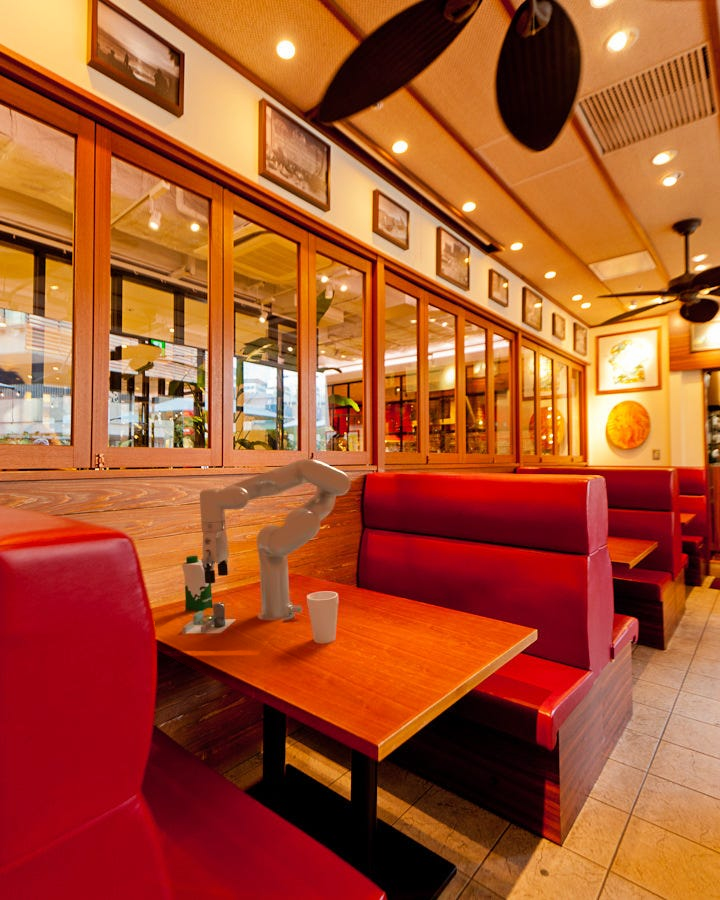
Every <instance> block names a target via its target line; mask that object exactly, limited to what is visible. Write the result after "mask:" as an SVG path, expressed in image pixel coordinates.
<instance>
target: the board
mask: <svg viewBox="0 0 720 900" xmlns="http://www.w3.org/2000/svg"><path fill="white" fill-rule="evenodd" d="M210 615H211V621H208V622H202V621H201V617H203V616H204V610H203V611H197V612H196V613H195V614H193V615H192V619H193V621H191V620H190V622H188V623H186V625H184V626H183V627H182V632H181V633H180V634H184V635H185V634H222V633H223V632H224V631H225V630H226V629H227V628H228V627H229V626H230V625H232V624H233V623H234V622H235V621H236V618H232V619H231V618H228V619H226V618H225V626H224V627H221V628H215V627H214V616H213V613H212V614H210Z"/></svg>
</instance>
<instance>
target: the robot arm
mask: <svg viewBox="0 0 720 900" xmlns="http://www.w3.org/2000/svg"><path fill="white" fill-rule="evenodd" d="M305 484H311V485H313V486H315V487H316V490H315V494H314V495H313V496H312V497H311V498H310V499H309V500H307V501H305V502H304V503H302V504H300V505H299V506H298V507H297V508H295V509H294V510H292V511H290V512H289V513H288V514H287V515H286V516H285V517H284V522H283V524H282V525H281V526H280V525H274V524H268V525H265V526H264V527H262V528H261V529H260V531H259V532H258V533H257V537H256V547H257V552H258V558H259V559H258V562H259V575H260V578H259V579H260V593H261V594H260V595H261V599H260V600H261V612H260V613H258V615H257V618H258V619H259V620H263V621H275V620H283V622H286V621H289V620H292V619H293V618H294V617H295V615H296V614H297V613H301V614H302V612H303V608H302V606H301V605H294V604H293V602H292V600H291V601H290V587H289V586H290V585H289V584H290V583H289V581H290V580H289V564H288V563H289V562H288V556H289V555H290V554H292V553H294V552H295V551H297V550H298V549H299V548H301V547H302V546H304V545H305V544H307V542H309V541H310V540H312V539H313V538H315V536H316V535H317V534H318V533H319V531H320V528H321V521H322V520H324V519H325V518H326V517H327V516H329V514H330V513H331V512H332V511H333V509H334V507H335V502H336V499H337V496H338V497H339V496H340V497H341V496H344V495H345V494H347V493H348V492H349V490H350V489H351V486H352V485H351V480H350V477H349V476H348V475H347V474H346V472H344V471H341V470H339V469H337V468H335V467H332V466H330V465H328V464H327V463H324V462H322V461H320V460H317V459H314V458H305V459H300V460H299V459H298V460H296V461H294V462H291V463H288V464H286V465H282V466H281V467H277V468H274V469H272V470H269V471H267V472H264V473H260V474H258V475H255V476H253V477H250V478H247V479H244V480H241V481H238V482H236V483H233V484H230V485H228V486H226V487H224V488H223V489H221V488H209V489H208V488H207V489H203V490H201V491H199V506H200V521H201V522H200V524H201V533H202V558H201V560H202V564H203V568H204V573H205V583H211V584H216V571H215V569H214V567H215V564H217V575H218V576H222V577H223V576H228V574H229V572H228V571H229V570H228V558H229V556H230V551H229V542H228V535H227V532H226V531H227V529H226V516H225V515H226V514H225V510H241V509H244V508H245V507H246V506H247V505H248V504H249V502H250V501H252V500H254V499H259V498H261V497H262V498H263V497H271V496H277V495H279V494H282V493H284V492H287V491H289V490H291V489H293V488H296V487H300V486H302V485H305ZM210 564H211V566H210Z"/></svg>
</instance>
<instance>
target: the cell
mask: <svg viewBox="0 0 720 900" xmlns="http://www.w3.org/2000/svg"><path fill="white" fill-rule="evenodd" d="M212 604H213V608H212V610H213V612H212V614H213V616H214V627H215V628H221V627H224V626H225V619H226V608H225V606H226V605H225V603H224V602H221V601H219V602H216V603H212Z"/></svg>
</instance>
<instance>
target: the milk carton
mask: <svg viewBox="0 0 720 900" xmlns="http://www.w3.org/2000/svg"><path fill="white" fill-rule="evenodd" d="M210 566H211V564H210ZM181 568H182V571H183V576H184V593H185V596H184V597H185V602H184V603H185V610H184V611H185V612H186V611H189V612H190V611H191V612H199V611H203V612H204V611H205V610H206V609H207V610H208V609H213V604H214V603H213V596H212V583H205V573H204V568H203V564H202V559H199V557H198V555H188V556H186V562H184V563H182V564H181Z"/></svg>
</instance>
